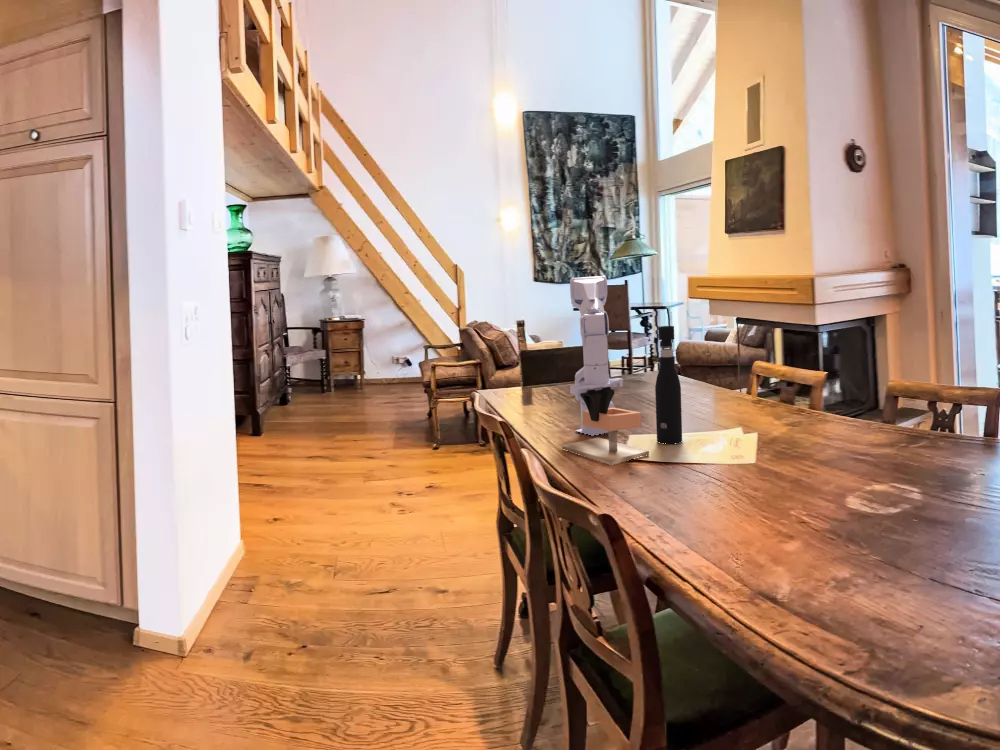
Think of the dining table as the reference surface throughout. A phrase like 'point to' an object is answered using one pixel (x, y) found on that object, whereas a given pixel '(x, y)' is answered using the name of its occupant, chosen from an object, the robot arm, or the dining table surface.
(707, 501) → the dining table surface
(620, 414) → the pink square frame
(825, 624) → the dining table surface
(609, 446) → the thin beige base plate
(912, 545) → the dining table surface
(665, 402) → the black water bottle
